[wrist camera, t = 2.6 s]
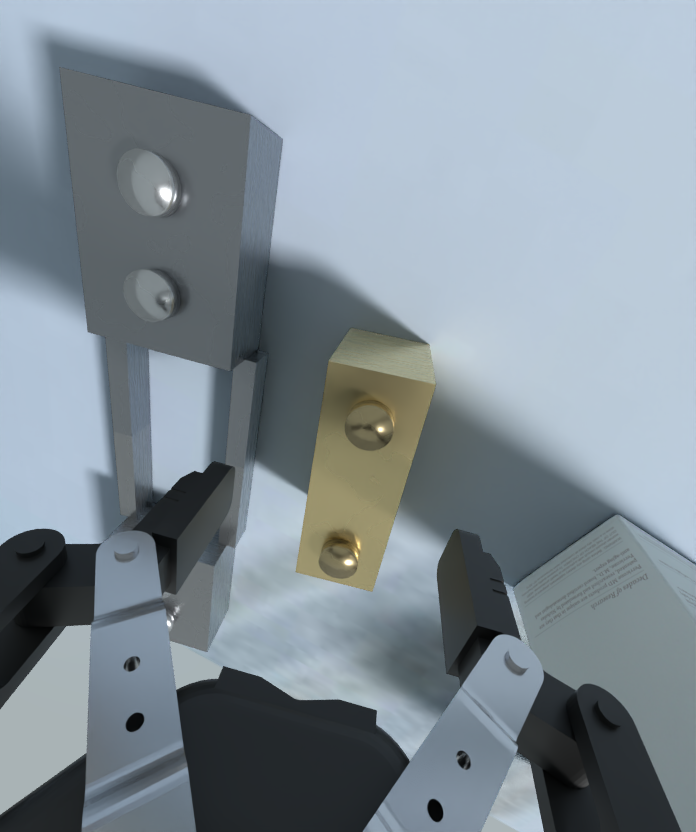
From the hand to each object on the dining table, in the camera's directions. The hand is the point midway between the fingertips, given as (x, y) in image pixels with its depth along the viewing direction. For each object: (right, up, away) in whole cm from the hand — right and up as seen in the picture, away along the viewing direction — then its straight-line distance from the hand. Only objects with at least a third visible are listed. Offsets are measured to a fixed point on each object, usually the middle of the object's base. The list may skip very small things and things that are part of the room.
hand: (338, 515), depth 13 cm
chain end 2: (-10, -4, +10) cm, 14 cm away
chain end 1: (-7, +8, +4) cm, 11 cm away
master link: (+1, +3, +5) cm, 6 cm away
